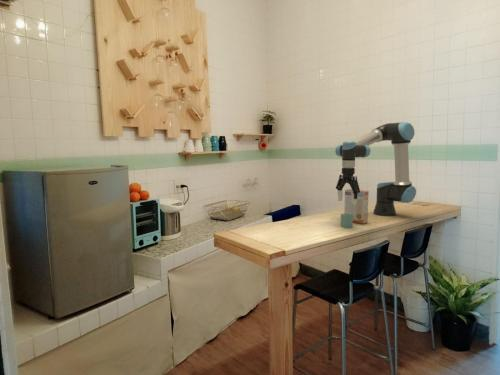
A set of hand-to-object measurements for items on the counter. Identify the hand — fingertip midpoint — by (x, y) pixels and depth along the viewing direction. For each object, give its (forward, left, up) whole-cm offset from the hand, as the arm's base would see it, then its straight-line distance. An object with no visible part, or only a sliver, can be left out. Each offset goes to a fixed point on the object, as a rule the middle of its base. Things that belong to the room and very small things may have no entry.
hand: (347, 202), depth 203 cm
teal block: (0, 0, -15) cm, 15 cm away
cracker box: (-14, -9, -15) cm, 23 cm away
